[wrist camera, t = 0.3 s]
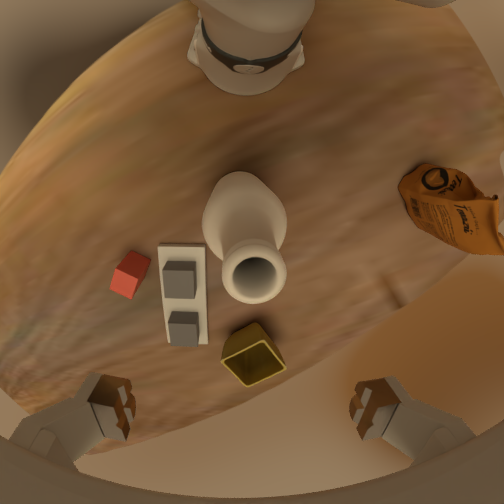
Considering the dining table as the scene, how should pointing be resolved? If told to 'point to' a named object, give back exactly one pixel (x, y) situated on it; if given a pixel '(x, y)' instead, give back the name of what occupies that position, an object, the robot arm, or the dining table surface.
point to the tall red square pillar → (129, 274)
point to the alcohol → (247, 236)
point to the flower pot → (252, 355)
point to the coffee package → (453, 209)
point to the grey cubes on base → (184, 293)
